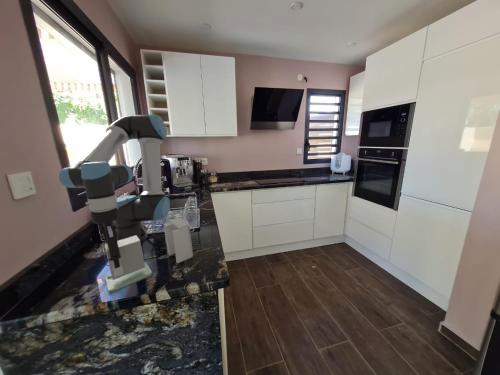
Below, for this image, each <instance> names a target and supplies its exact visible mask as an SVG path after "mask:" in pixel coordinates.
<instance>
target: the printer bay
mask: <svg viewBox="0 0 500 375" xmlns="http://www.w3.org/2000/svg"><path fill="white" fill-rule="evenodd" d="M190 226H191V225H190V223H188V222H186V221H185V220H184V219H181V218H180V217H176V218H172V219H168V222H166V223H163V230H164V236H165V243H166V244H165V246H166V250H167V254H168V255H169V256H172V255H175V261H176V264H179V263H181V262H184V261H187V260H189V259H191V258H193V257H194V251H193V250H194V249H193V242H192V236H191V228H190Z"/></svg>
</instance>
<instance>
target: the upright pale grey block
mask: <svg viewBox="0 0 500 375" xmlns="http://www.w3.org/2000/svg"><path fill="white" fill-rule="evenodd" d="M117 243H118V247H119V252H120V255H121V263H122V268H123V273H124V274H121V275H118V276H116V277H114V274H113V269H112V264H111V261H108V259H110V258H111V257H110V252H109V248H108V244H107V243H106V242H105V243H104V248H105V253H106V257H107V262H108V266H109V271H110V275H112V279H113V280H115V279H117V278H120V277H122V276H125V275H127V274H130V273H132V272H135V271H137V270H140V269H142V268H145V265H144V262H145V261H144V260H145V259H144V255H143V248H142V242H140V240H139V238H138V237H137V235H136V236H132V237H129V238H125V239H122V240H119V241H117Z"/></svg>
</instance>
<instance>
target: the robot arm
mask: <svg viewBox="0 0 500 375" xmlns="http://www.w3.org/2000/svg"><path fill="white" fill-rule="evenodd" d="M167 135H168V133H167V126H166V125H165V122H164V120H163V118H162V117H161V116H160V115H158V114H136V115H135V114H133V115H126V116H122V117H120V118H119V119H117V120H115V121H114V122H112V123H111V124H110V125H109V126H108V127H107V128H106V129H105V133H104V135H103V136H102V137H101V138H99V140H98V141H97V142H96V143H95V144H94V145H93V146H92V148H91V149H90V150H89V151H88V152H87V153H86V154H85V155H84V156H83V157H81V159H80V160H79V161H78V162H77V163H76V164H75V165H74V166H69V167H63V168H62V169H61V170H60V171H59V174H58V180H59V182H60V183H61V185H62V186H64V187H66V188H70V189H71V188H73V189H74V188H75V189H76V188H77V189H81V188H84V190H85V194H86V199H87V201H86V202H85V205H87V206H88V208H89V210H90V213H89V214H90V218H91V221H92V223H93V224H98V225H99V224H101V225H99V226H100V230H101V233H102V235H103V237H104V238H103V239H104V241H105V244H106V243H107V244H108V248H109V252H110V257H111V258H110V259H108V258H107V262H108V261H111V264H112V269H113V274H114V277H116V276H118V275H121V274H124V273H123V268H122V263H121V255H120V252H119V247H118V243H117V241H119V240H122V239H125V238H129V237H132V236H136V235H137V237H138V238H139V240H140V242H141V243H143V242H145V240H147V238H148V232H147V230H146V229H145V228H144V227H145V226H144V225H143V224H142V222H148V221H149V222H152V221H153V222H157V221H162V220H165V219H166V218H167V217H168V215H169V212H170V209H171V208H170V207H171V203H170V202H171V201H170V198H169V197H167V196H166V192H164V191H163V190H162V187H163V186H162V168H161V166H162V164H161V162H162V161H161V145H162V144H163V143H164V141H163V139H166V137H167ZM130 140H137V142H138V143H139V144H140V149H141V169H142V170H141V172H142V174H141V175H142V192H141V193H140V194H139V198H138V196H137V195H135V194H133V195H127V196H122V197H120V198H119V197H118V198H117V194H116V190H115V188H117V187H119V186H122V185H126V184H128V183H130V182H131V181H132V180H133V178H134V171H133V169H132V168H131V167H130V166H129V165H127V164H122V163H121V164H116V165H115V164H113V165H110V163H109V162H110V161H111V160H112V158H114V156H115V155H116V153H117V152H118V151H119V149H120V147H121V146H122V145H124V144H126V143H128V142H129V141H130Z"/></svg>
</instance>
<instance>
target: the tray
mask: <svg viewBox="0 0 500 375" xmlns="http://www.w3.org/2000/svg"><path fill="white" fill-rule="evenodd" d="M144 265H145V268H142V269H140V270H137V271H135V272H132V273H130V274H127V275H125V276H122V277H120V278H117V279H115V280H113V279H112V275H111V274H110V275H107V276H105V277H104V278H105V281H106V286H107V290H108V294H112V293H115V292H116V291H119V290H121V289H124V288H125V287H128V286H130V285H133V284H135V283H137V282H140V281H142V280H144V279H148V278H149V277H151V276H153V271H152V270H151V268H150V267H149V265H148V263H147V262H146V261H144Z"/></svg>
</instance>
